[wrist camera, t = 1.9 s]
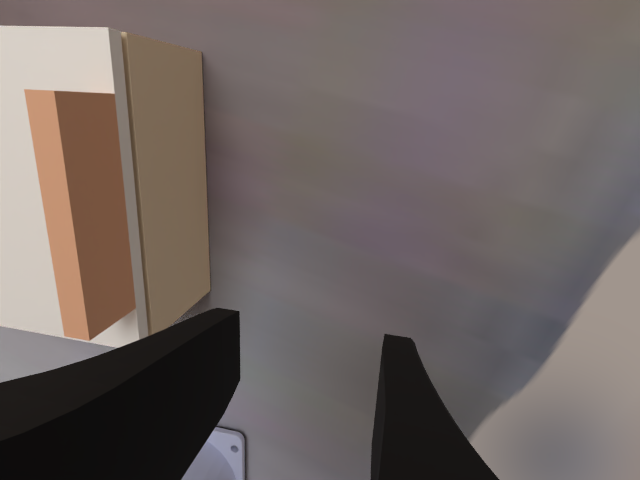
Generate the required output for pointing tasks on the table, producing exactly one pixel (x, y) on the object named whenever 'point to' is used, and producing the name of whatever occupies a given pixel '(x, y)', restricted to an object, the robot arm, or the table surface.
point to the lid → (68, 187)
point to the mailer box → (168, 174)
